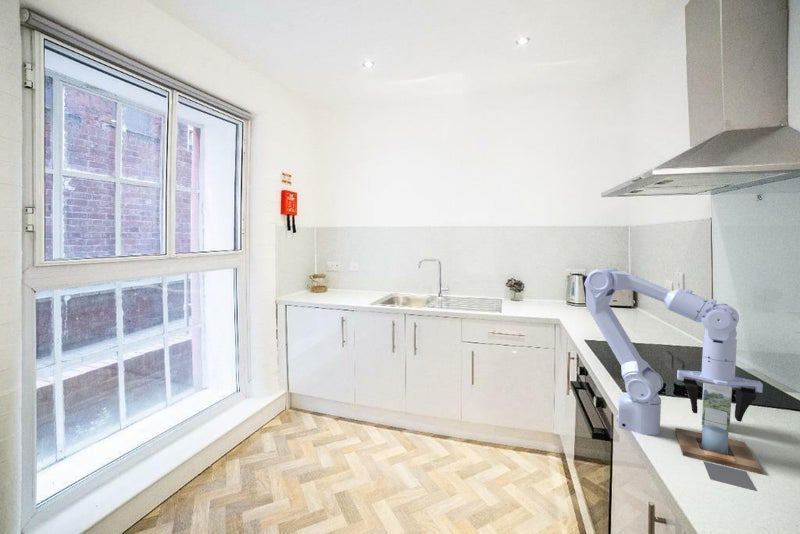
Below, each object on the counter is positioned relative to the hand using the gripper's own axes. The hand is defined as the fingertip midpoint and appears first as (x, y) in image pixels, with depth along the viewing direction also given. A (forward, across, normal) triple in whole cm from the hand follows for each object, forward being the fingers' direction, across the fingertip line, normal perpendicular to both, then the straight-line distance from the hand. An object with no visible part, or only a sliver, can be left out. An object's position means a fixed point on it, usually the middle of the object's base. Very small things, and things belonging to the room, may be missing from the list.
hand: (715, 415), depth 82 cm
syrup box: (+10, +4, +18) cm, 21 cm away
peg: (+9, 0, 0) cm, 9 cm away
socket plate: (+9, 0, 0) cm, 9 cm away
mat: (+9, 0, -10) cm, 14 cm away
